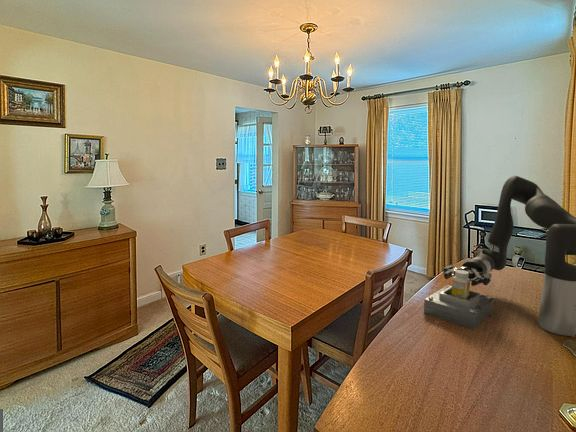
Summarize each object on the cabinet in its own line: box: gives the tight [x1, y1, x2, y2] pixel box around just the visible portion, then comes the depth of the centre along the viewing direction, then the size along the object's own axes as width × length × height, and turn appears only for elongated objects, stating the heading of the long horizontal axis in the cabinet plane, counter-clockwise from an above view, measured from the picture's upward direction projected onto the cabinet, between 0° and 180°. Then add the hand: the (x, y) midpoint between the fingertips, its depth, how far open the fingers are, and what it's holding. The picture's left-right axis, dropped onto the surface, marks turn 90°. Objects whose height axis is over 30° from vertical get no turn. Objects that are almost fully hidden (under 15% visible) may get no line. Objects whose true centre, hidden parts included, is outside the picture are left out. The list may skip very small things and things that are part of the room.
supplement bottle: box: [451, 270, 471, 300], centre depth 109 cm, size 5×5×10 cm
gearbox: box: [423, 284, 495, 331], centre depth 110 cm, size 16×18×7 cm
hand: (458, 279), depth 108 cm, fingers open, 8 cm apart
